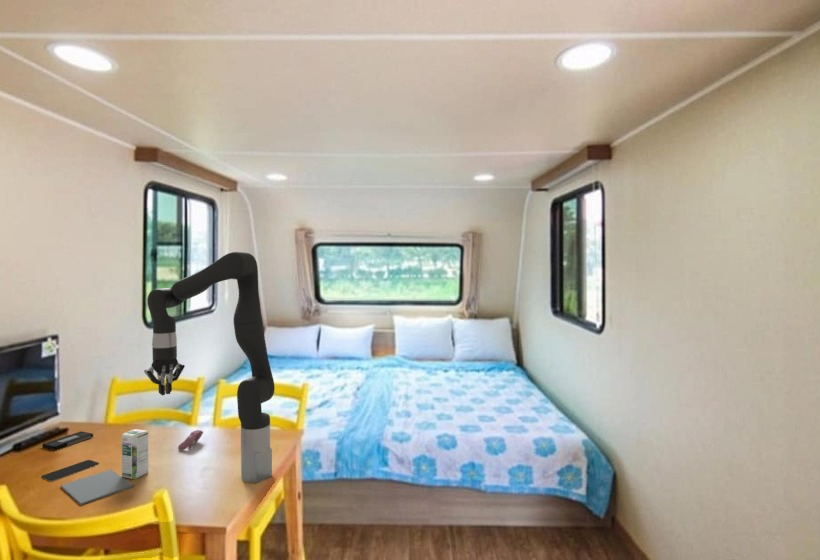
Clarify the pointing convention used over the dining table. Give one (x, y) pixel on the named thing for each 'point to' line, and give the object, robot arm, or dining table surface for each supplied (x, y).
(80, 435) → the vhs tape
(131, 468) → the syrup box
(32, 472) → the dining table surface
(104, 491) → the mat
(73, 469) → the smartphone
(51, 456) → the dining table surface
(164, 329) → the robot arm
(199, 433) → the purple-brown oblong lump
